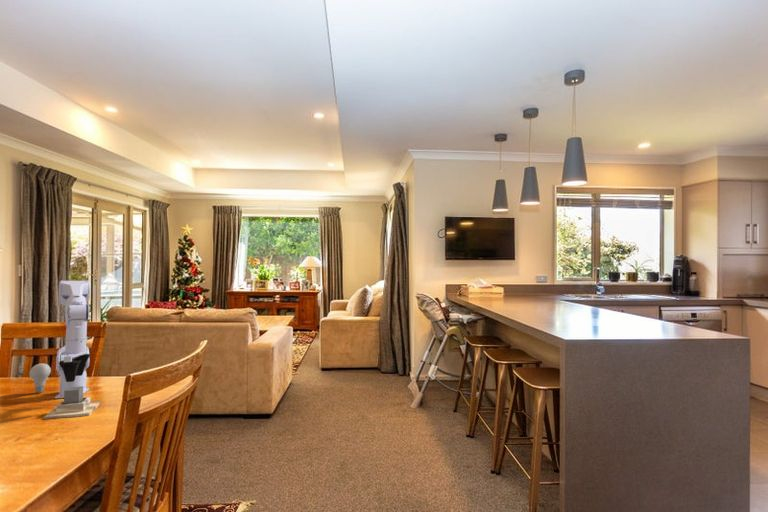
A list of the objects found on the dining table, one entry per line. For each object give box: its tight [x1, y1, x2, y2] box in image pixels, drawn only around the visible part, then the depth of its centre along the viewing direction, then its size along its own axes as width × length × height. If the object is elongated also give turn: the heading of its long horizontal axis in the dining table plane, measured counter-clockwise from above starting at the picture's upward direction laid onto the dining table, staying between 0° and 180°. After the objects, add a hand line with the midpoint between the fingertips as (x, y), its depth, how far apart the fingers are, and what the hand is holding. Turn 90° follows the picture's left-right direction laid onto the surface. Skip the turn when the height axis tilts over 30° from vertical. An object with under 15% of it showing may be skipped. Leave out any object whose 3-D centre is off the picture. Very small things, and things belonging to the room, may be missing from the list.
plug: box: [63, 386, 84, 404], centre depth 133 cm, size 4×4×6 cm
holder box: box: [43, 396, 102, 421], centre depth 133 cm, size 12×12×3 cm
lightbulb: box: [29, 363, 52, 394], centre depth 151 cm, size 6×6×11 cm
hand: (74, 378), depth 138 cm, fingers open, 7 cm apart
